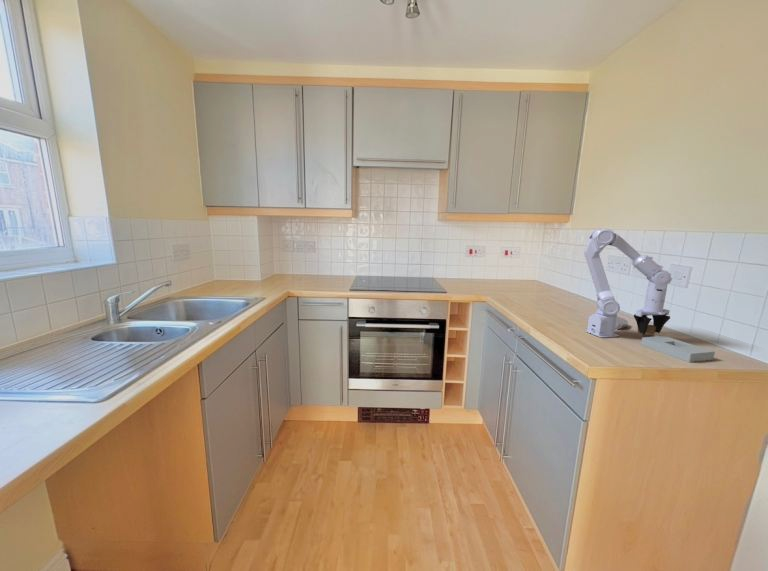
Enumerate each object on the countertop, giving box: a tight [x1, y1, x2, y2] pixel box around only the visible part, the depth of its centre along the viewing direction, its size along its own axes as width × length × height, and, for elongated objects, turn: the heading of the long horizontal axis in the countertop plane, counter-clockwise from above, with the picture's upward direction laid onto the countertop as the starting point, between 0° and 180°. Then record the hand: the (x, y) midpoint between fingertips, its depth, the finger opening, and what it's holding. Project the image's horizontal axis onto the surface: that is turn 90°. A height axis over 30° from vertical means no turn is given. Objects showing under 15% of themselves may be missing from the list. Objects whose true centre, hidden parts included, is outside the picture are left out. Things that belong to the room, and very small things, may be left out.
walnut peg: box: [641, 324, 656, 338], centre depth 126 cm, size 4×4×6 cm
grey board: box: [640, 335, 716, 363], centre depth 114 cm, size 11×16×3 cm
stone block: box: [615, 315, 629, 330], centre depth 144 cm, size 12×5×10 cm
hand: (649, 332), depth 126 cm, fingers open, 7 cm apart
